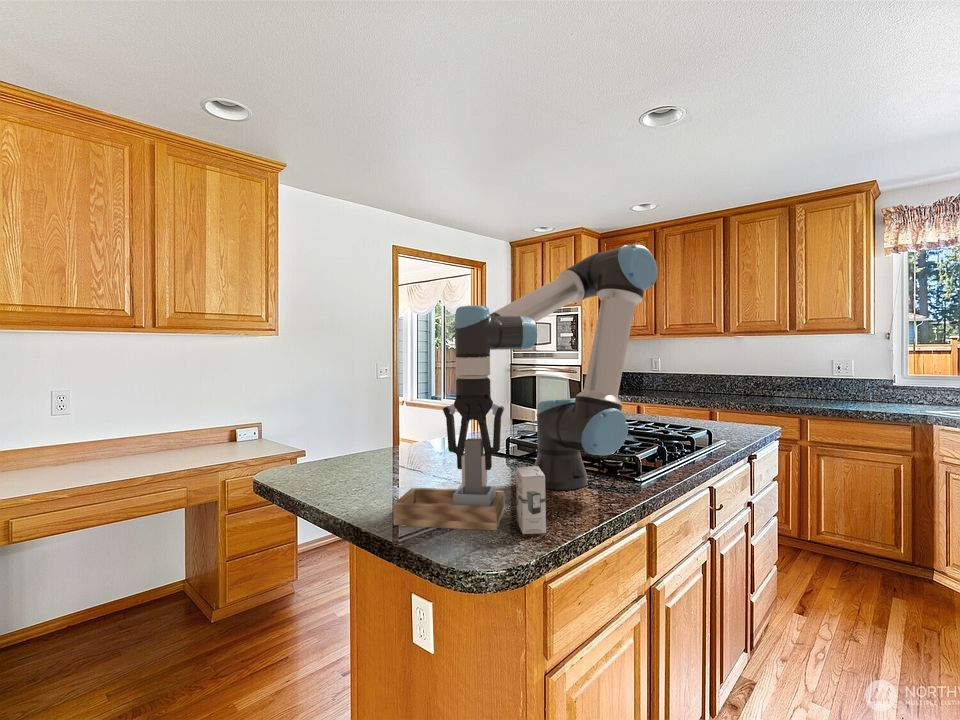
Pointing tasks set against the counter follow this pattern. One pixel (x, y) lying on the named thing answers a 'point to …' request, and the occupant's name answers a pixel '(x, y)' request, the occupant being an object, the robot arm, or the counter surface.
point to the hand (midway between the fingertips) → (474, 484)
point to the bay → (445, 510)
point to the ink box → (531, 500)
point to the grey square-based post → (474, 479)
